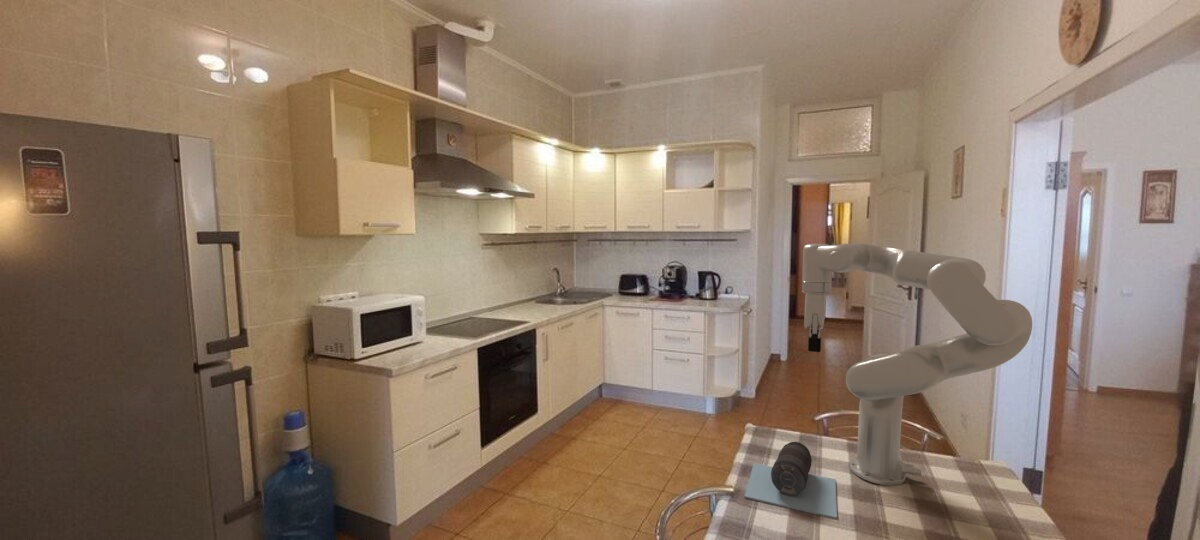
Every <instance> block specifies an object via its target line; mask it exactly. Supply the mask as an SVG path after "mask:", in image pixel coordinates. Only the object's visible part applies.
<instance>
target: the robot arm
mask: <svg viewBox="0 0 1200 540" xmlns="http://www.w3.org/2000/svg"><path fill="white" fill-rule="evenodd" d="M855 271H861V272H867V273H873V274H879V275H883V276H886V277H889V278H891V279H892V280H893V281H894V282H895V283H897V284H899V285H901V286H907V287H912V288H919V289H923V290H924V289H925V290H930V291H931V293H932V295H934V297H935V299H937V300H938V303H940V305H942V307H943V308H944V309H945V310H946V312H948V314H950V316H951V317H952V318H953V319H954V320H955V321H956V322H957V324H958V325H959V326H960V327H961V328H962V329H963V330H964V331H965V332H966V333H964V334H960V335H956V336H953V337H950V338H947V339H942V340H938V341H934V342H930V343H924V344H923V343H922V344H918V345H913V346H910V347H908V348H907V349H904V350H901V351H898V352H896V353H892V354H887V353H878V354H874V355H871V356H869V357H866V358H865V359H863V360H860V361H858V362H856V363H854V364H853V365H851V366H850V367H849V368H848V370H847V372H846V374H845V385H846V388H847V390H849V392H850V393H851V394H853V395H854V396H855V397H856V398H858V399H859V404H858V407H859V408H858V422H857V423H858V425H857V427H858V429H857V430H858V431H857V446H856V447H857V449H856V451H857V452H856V457H855V458H853V459H851V460H850V462H849V469H850V470H851V471H852V473H853V474H854V475H856V476H857V477H859V478H860V479H863V480H865V481H867V482H871V483H873V484H877V485H883V486H896V485H901V484H903V483H905V481H906V476H907V474H908V475H912V476H915V477H916V476H917V477H921V476H922V469H921V468H920V467H915V466H914V463H911V462H903V460H901V457H900V453H901V452H900V451H901V435H902V434H901V433H902V431H901V430H902V420H903V406H904V398H905V397H906V396H910V395H916V394H919V393H923V392H926V391H928V390H931V389H932V388H934V387H935V386H937V385H939V384H940V383H941V382H943V381H946V380H949V379H954V378H956V377H963V376H967V375H971V374H974V373H979V372H982V371H987V370H990V369H993V368H996V367H999V366H1002V365H1003V364H1005V363H1007V362H1009V361H1010V360H1011V359H1014V358H1015V357H1016V356H1017V355H1018V354H1020V352H1022V351H1023V349H1024V348H1025V347H1026V345H1027V344H1028V343H1029V340H1030V338H1031V335H1032V330H1033V318H1032V315H1031V313H1030V311H1029V310H1028V308H1026V306H1024V305H1023V304H1022V303H1020V302H1018V301H1015V300H1010V299H997V298H996V297H995V296H994V295H993V294H992V293H991V292H990V291H989V290H988V289H987V287H986V286H985V282H986V270H985V268H984V267H983V266H982V264H980V262H977V261H976V260H973V259H970V258H965V257H960V256H959V257H958V256H951V255H944V254H937V253H931V252H922V251H915V250H910V249H909V250H908V249H903V248H902V249H901V248H895V247H889V246H882V245H875V244H867V243H859V242H857V243H856V242H852V243H844V244H843V243H842V244H841V243H840V244H834V245H830V244H827V243H807V244H805V245H804V246H803V249H802V272H801V273H802V274H801V275H802V279H801V280H802V281H801V283H802V284H801V293H803V294H805V299H804V319H803V320H804V321H803V322H804V324H803V327H804V329H807V328H809V336H808V343H807V349H808V352H812V353H813V352H814V353H820V352H821V350H822V349H821V347H822V344H821V343H822V337H821V331H822V330H823V329H824V325H825V319H826V308H827V307H826V306H827V305H826V304H827V295H830V294H832V279H833V278H832V276H833V274H832V273H833V272H834V273H838V274H839V273H841V274H843V273H849V272H855Z"/></svg>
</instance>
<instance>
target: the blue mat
mask: <svg viewBox="0 0 1200 540" xmlns="http://www.w3.org/2000/svg"><path fill="white" fill-rule="evenodd" d="M772 468H773V466H770V465H767V464H766V465H764V464H761V463H756V462H753V465H752V469H751V471H750V475H749V479H748V481H747V485H746V489H745V493H744V496H743V497H744V499H749V500H753V501H757V502H760V503H761V502H762V503H767V504H768V505H769V504H770V505H775V506H778V507H784V508H788V509H793V510H797V511H799V512H800V511H801V512H805V513H808V514H813V515H818V516H822V517H826V518H831V519H835V520H837V519H838V510H837V508H838V507H837V490H836V489H837V487H836V486H837V485H836V483H837V482H836V479H835V478H831V477H827V476H819V475H816V474H810V473H808V480H807V484H806V487H805V489H804V490H803V491H802V492H801V493H799V494H797V495H786V494H783V493H782V492H780V491H779V490H778V489H777V488H776V487H775V486H774V484H773V482H772V479H771V470H772Z"/></svg>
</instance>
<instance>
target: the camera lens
mask: <svg viewBox="0 0 1200 540" xmlns="http://www.w3.org/2000/svg"><path fill="white" fill-rule="evenodd" d="M811 455H812V454H811V452H810V449H809V448H808V447H807V446H806V445H805V444H804V443H801V442H798V441H790V442H788V443H787V444H784V445H783V447H782V448H781V450H780V451H779V453H778V457H777V459H776V460H775V462H774V464H773V466H772V467H773V468H772V470H771V479H772V482H773V484H774V486H775V487H776V488H777V489H778V490H779V491H780V492H782V493H783V494H786V495H797V494H799V493H801V492H802V491H803V490H804V489H805V487H806V484H807V480H808V474H810V470H811V467H812V463H813V462H812V456H811Z"/></svg>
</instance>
